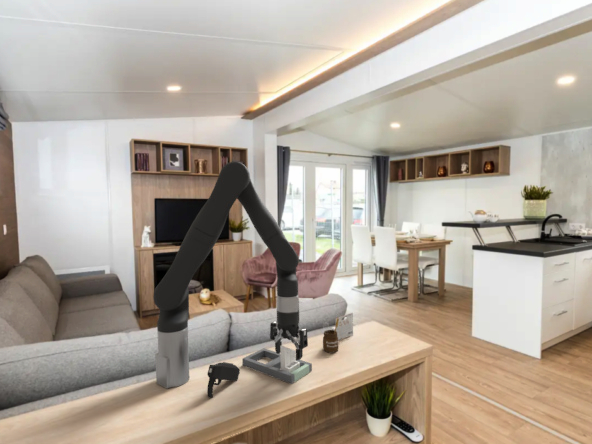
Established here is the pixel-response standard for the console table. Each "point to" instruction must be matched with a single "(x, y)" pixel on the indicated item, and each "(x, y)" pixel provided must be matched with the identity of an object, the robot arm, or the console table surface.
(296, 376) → the port panel
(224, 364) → the gun
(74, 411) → the console table surface
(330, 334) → the utensil holder
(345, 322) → the ink cartridge box
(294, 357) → the white wedge bracket
